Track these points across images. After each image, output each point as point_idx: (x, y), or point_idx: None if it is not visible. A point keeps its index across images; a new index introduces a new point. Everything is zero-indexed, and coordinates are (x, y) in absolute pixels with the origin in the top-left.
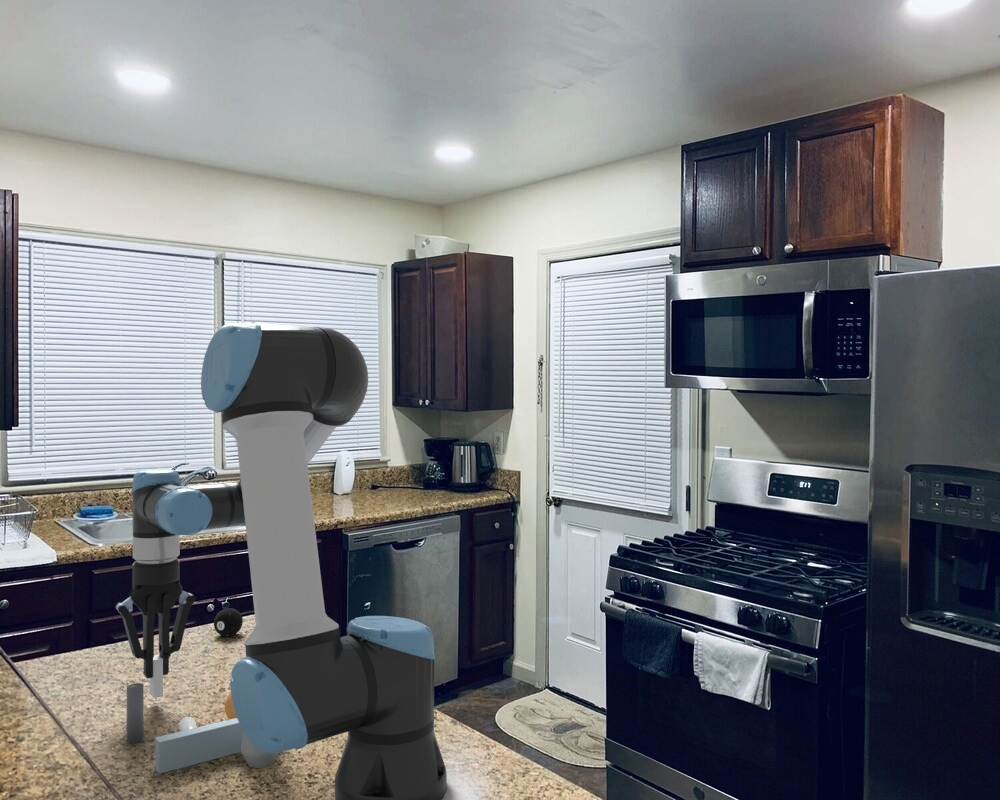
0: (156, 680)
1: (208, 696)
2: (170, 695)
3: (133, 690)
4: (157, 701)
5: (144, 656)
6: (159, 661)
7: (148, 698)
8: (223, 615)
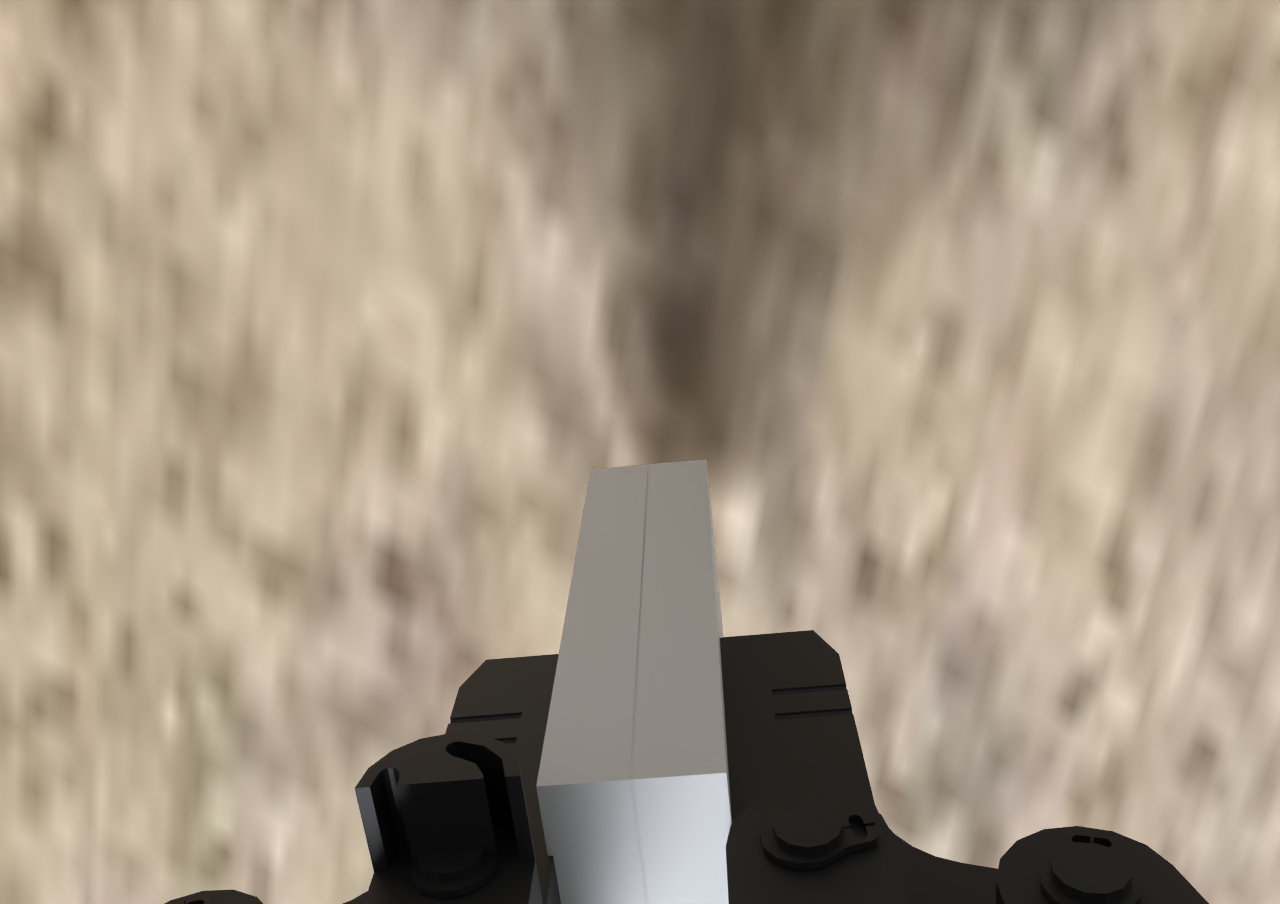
0: (672, 566)
1: (69, 472)
2: None
3: None
4: None
5: (925, 896)
6: (609, 753)
7: None
8: None
